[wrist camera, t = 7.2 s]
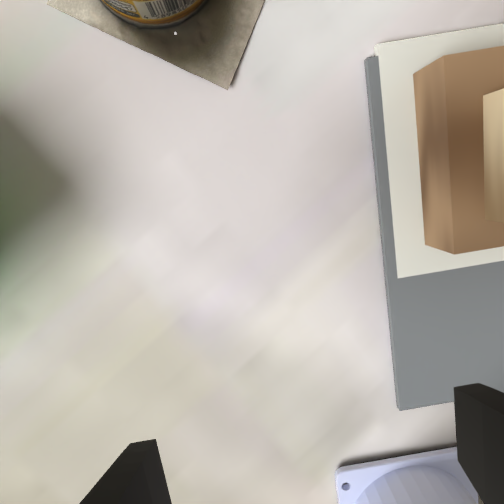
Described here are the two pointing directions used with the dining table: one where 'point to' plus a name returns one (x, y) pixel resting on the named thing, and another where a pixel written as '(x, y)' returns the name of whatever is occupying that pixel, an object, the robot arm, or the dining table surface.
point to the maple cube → (494, 155)
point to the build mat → (425, 257)
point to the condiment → (183, 22)
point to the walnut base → (456, 149)
